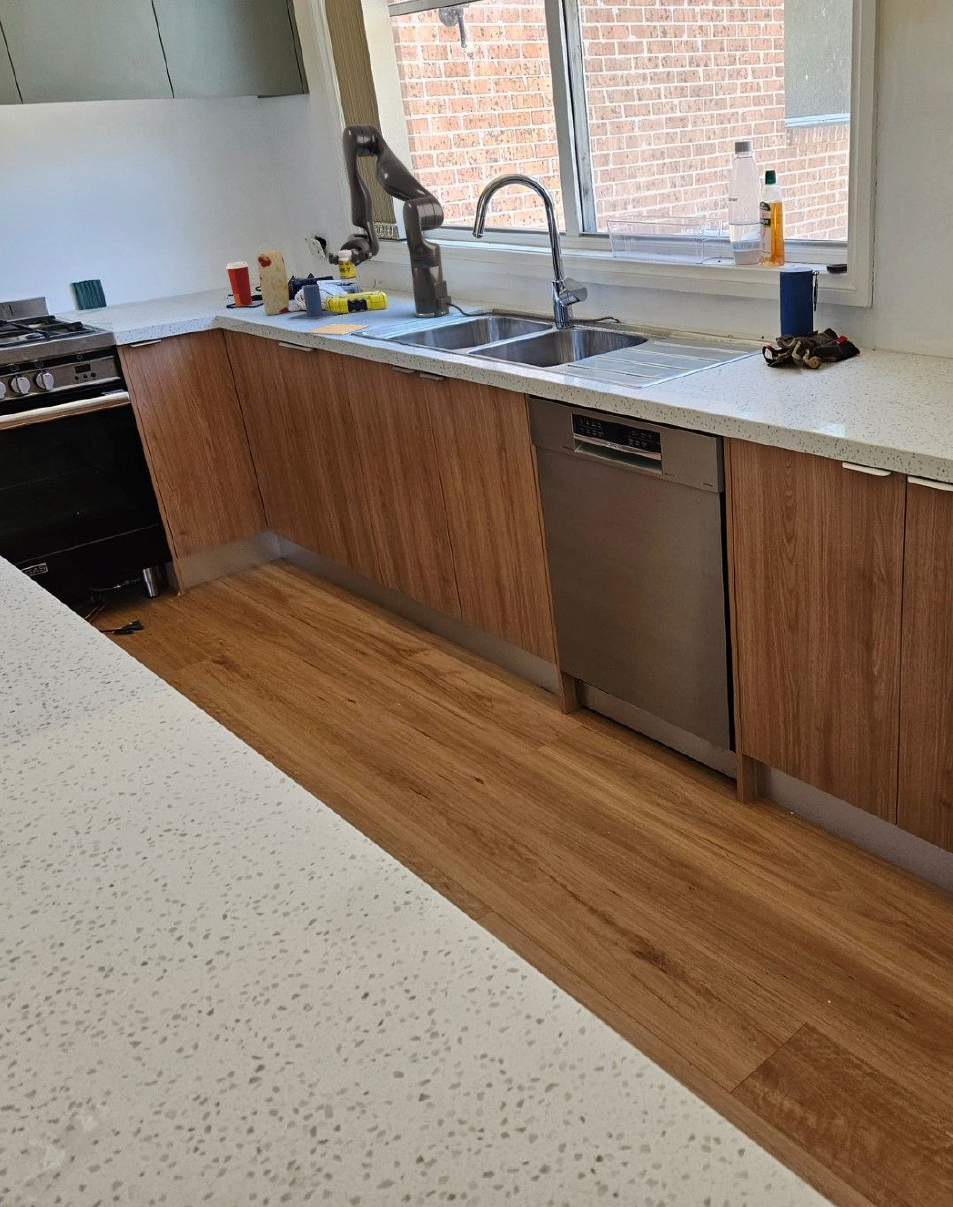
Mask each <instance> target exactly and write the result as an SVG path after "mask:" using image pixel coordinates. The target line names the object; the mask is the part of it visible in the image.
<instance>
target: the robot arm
mask: <svg viewBox="0 0 953 1207" xmlns="http://www.w3.org/2000/svg"><path fill="white" fill-rule="evenodd" d="M341 140H342V141H341V142H342V152H343V157H344V163H345V170H346V175H347V181H348V187H349V194H350V195H349V196H350V216H351V217H350V218H351V224H352V225H353V226H355V227H357V228H361V229H363V230H365V232H366V233H350V234H349V235H348V237H347V239H346V242H345V243H344V244H342V245H341V247H340V249H339V251H343V250H351V253H352V255H351V258H352V264H354V265H355V268H356V267H358V266H360V265H361V264H362V263H363V262H366V261H369V260H371V259H373V257H376V256H377V255H378V254H379V253H380V241H379V237H378V235H377V231H376V227H375V222H374V221H375V220H374V201H373V200H374V199H373V196H372V193H371V190H370V189H369V187H368V185H367V183H366V182H365V180H364V177H363V176H362V174H361V172H360V168H359V163H358V158H368V157H370V158H374V159H375V161H376V162H375V166H374V177H375V179H376V181H377V183H378V184H379V185H380V187H381V188H382V189H383V190H384V191H385V193H387V194H388V195H389V196H390V197H392V198H395V199H397V200H400V201H402V202H404V203H403V205H402V220H403V226H404V231H405V238H406V239H405V240H406V245H407V250H408V252H409V254H408V255H409V262H410V270H411V271H410V273H411V280H412V288H413V289H412V290H413V298H414V299H413V301H414V306H415V307H414V309H415V317H417V318H433V317H434V318H438V317H442V316H445V315H447V314H450V307H453V308H454V309H456V310H458V311H459V312H460V314H461V315H462V316H465V317H481V316H488V315H492V316H494V315H495V316H496V315H497V316H508V317H509V316H510V317H520V318H524V319H525V318H526V319H533V320H540V321H541V320H542V321H549V322H550V321H551V322H557V321H556V319H557V318H556V319H555V318H554V317H545V316H536V315H529V314H521V313H513V312H499V311H487V312H480V313H467V312H465V311H464V310H462V309H461V307H459V306H458V305H457V304H454V303H452V296H451V295H448V286H447V285H448V284H447V280H444V272H443V263H442V262H443V261H442V254H441V253H442V251H441V245H440V244H439V243H436V242H432V241H429V240H427V239H426V238H424V235H423V232H427V231H434V230H437V229H439V228H441V226H442V225H443V223H444V221H445V213H444V209H443V206H442V204H441V203H440V201H439V199H437V197H436V196H435V195H434V194H433V193H431V192H430V191H429V190H428V189H427V188H426V187H424V186H423V185H422V184H421V183H420V182H419V181H418V179H417V178H415V176H414V175H413V174H412V172H410V170H409V169H408V168H407V166H406V165H405V164H404V163H403V161H401V159H400V158H398V157H397V155H396V154H395V152H394V151H393V150H392V149H391V147H390V145H389V144H388V143H387V141H386V140H385V138H384V137H383V135H382V134H381V132H380V131H379V129H378V128H377V127H376V126H375V125H373V124H371V123H370V124H369V123H368V124H367V123H365V124H349V125H346V126H345V127H344V129H343V131H342V139H341ZM327 258H328V263H329V265H334V266H339V265H338V258H339V256H338V251H337V252H336V254H334V252H333V253H332V252H328V253H327ZM613 317H614V316H604V317H599V318H593V319H591V318H589V319H587V318H585V319H584V318H583V319H581V318H580V319H579V318H576V319H575V318H570V319H571V320H569V321H570V322H569V323H597V322H602V321H604V320H605V321H606V320H612V321H615V322H616V323H618V324H622V322H621V320H620V319H619V318H617V319H614V318H613Z"/></svg>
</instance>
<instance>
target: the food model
mask: <svg viewBox="0 0 953 1207" xmlns="http://www.w3.org/2000/svg"><path fill="white" fill-rule="evenodd" d="M256 263H257V264H256V265H257V273H258V282H259V287H260V292H261V297H262V298H261V299H262V302H263V306H264V312H265V314H266V315H267V316H268V315H271V316H272V315H273V316H274V315H280V314H285V313H288V312H289V309H290V300H289V299H290V296H289V295H290V294H289V293H290V292H289V281H288V276H287V270H286V266H285V262H284V257H283V253H282V251H281V250H279V249H270V250H267V251H261V252H260V253H258V254H257V255H256Z"/></svg>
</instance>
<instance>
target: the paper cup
mask: <svg viewBox="0 0 953 1207" xmlns="http://www.w3.org/2000/svg"><path fill="white" fill-rule="evenodd" d="M225 269H226V271H227V273H228V275H227V276H228V278H229V283H230V287H231V291H232V295H233V296H232V297H233V300H234V303H235V306H236V307H244V306H245V307H246V306H250V305H252V304H253V299H252V290H251V282H250V274H249V272H250V271H249V264H248V262H247V261H244V260H241V261H233V262H228V263H227V264H226V267H225Z"/></svg>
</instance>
